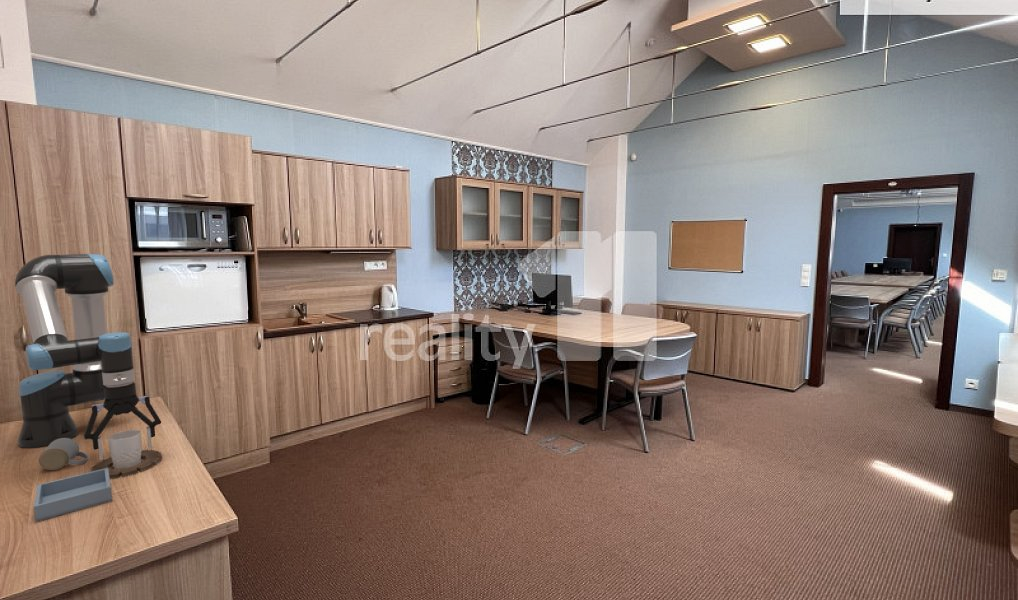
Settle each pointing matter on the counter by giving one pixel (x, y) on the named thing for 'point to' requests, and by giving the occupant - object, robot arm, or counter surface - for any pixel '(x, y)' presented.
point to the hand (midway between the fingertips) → (126, 452)
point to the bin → (72, 494)
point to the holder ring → (151, 460)
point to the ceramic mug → (61, 454)
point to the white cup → (125, 448)
